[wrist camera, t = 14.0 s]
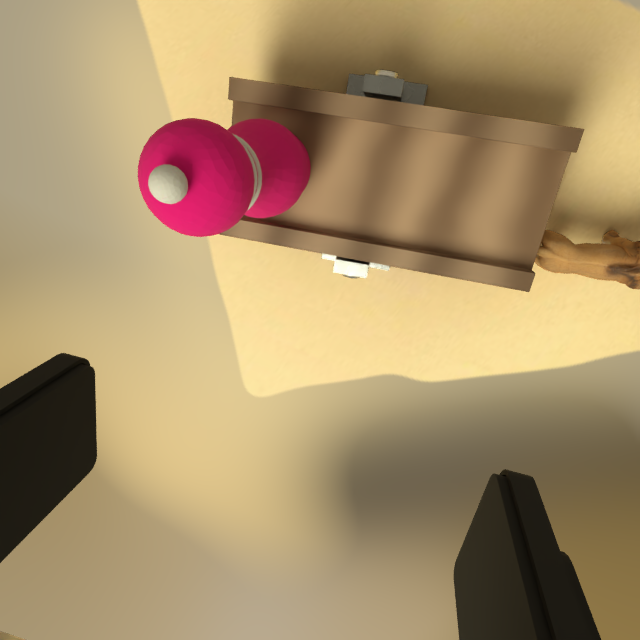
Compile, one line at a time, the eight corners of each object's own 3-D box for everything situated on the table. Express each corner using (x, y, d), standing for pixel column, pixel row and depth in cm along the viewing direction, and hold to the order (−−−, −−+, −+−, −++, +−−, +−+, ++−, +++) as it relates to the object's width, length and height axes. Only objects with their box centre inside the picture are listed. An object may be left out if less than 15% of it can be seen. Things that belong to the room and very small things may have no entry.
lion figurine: (664, 214, 41) (732, 231, 33) (654, 271, 43) (715, 301, 35) (494, 222, 44) (516, 240, 35) (490, 276, 45) (511, 304, 37)
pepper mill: (262, 102, 37) (123, 58, 19) (333, 156, 38) (266, 165, 19) (220, 177, 40) (62, 204, 21) (286, 227, 40) (189, 293, 22)
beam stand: (427, 86, 40) (432, 74, 34) (388, 268, 47) (387, 288, 40) (350, 74, 41) (340, 61, 34) (322, 256, 48) (310, 274, 41)
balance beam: (571, 130, 35) (584, 129, 33) (521, 283, 40) (529, 292, 38) (240, 81, 38) (229, 77, 36) (230, 229, 43) (219, 234, 40)
